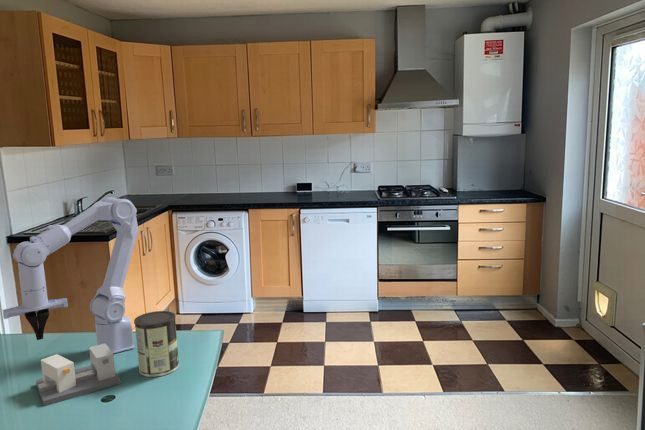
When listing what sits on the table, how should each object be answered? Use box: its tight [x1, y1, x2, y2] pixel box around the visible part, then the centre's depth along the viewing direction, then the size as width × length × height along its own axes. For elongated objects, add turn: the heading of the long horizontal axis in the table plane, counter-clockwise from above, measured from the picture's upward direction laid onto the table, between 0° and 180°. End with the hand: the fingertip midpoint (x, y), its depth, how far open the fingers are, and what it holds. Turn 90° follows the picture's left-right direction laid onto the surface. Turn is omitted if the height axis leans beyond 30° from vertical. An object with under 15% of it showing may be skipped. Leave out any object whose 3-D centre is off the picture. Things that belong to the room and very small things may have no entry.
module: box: [40, 353, 76, 392], centre depth 125 cm, size 4×9×6 cm, turn 52°
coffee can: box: [133, 310, 180, 378], centre depth 134 cm, size 10×10×14 cm
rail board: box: [35, 343, 121, 407], centre depth 127 cm, size 17×13×7 cm
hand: (39, 338), depth 133 cm, fingers closed
